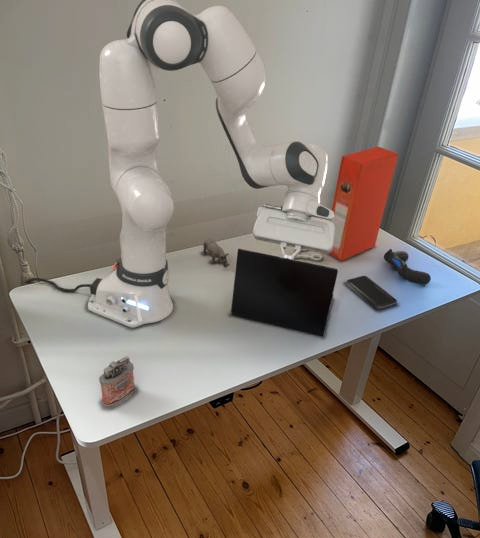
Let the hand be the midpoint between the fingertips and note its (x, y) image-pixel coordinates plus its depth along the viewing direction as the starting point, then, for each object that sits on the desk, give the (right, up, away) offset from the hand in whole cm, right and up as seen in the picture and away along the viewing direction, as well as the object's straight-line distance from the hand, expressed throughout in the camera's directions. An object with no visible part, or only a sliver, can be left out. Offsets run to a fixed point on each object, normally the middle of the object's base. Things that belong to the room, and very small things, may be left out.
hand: (286, 262), depth 125 cm
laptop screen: (-1, -7, +3) cm, 8 cm away
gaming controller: (+40, +1, +35) cm, 53 cm away
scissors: (+5, +6, +38) cm, 39 cm away
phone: (+27, -7, +24) cm, 37 cm away
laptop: (+1, -11, +16) cm, 19 cm away
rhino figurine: (-19, +4, +33) cm, 38 cm away
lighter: (-38, -31, -15) cm, 51 cm away
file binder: (+25, +10, +45) cm, 53 cm away
